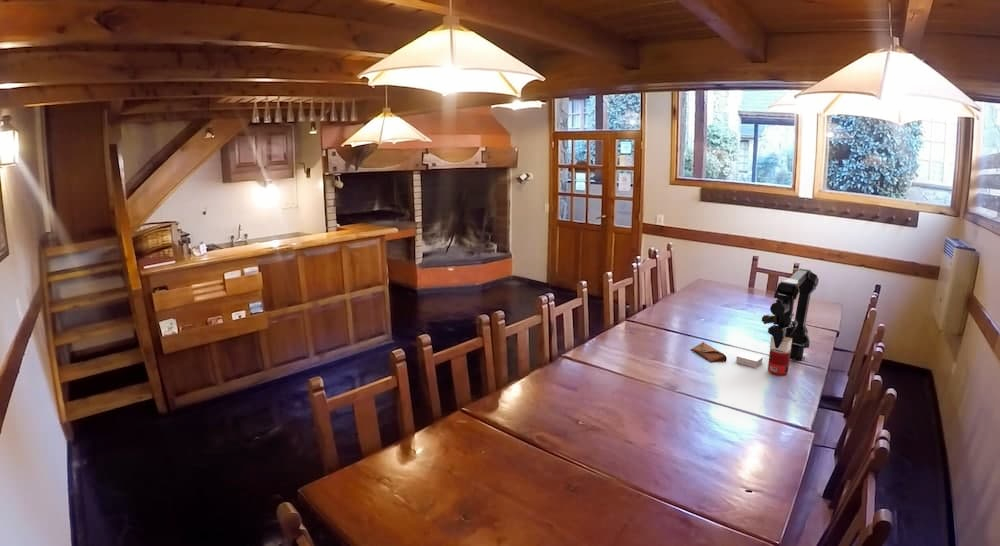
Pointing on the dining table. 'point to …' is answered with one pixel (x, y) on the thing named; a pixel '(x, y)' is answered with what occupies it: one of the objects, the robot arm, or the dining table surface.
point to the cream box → (782, 344)
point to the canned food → (778, 362)
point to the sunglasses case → (709, 353)
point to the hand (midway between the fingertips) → (780, 345)
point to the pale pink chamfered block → (749, 359)
